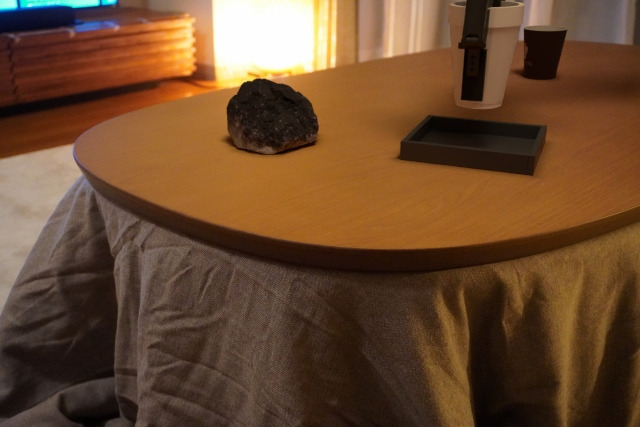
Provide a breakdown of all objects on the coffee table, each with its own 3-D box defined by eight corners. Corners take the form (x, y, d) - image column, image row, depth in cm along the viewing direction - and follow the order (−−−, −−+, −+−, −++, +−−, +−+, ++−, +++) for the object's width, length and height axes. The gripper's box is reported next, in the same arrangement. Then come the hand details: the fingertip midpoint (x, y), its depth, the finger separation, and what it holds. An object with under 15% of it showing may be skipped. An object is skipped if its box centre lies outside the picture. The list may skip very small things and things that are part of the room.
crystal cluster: (331, 153, 90) (333, 84, 87) (239, 157, 86) (239, 84, 83) (302, 136, 102) (303, 74, 99) (220, 138, 98) (219, 74, 95)
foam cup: (494, 93, 90) (503, -1, 85) (526, 108, 82) (538, 5, 77) (432, 97, 89) (438, 2, 83) (459, 114, 80) (467, 9, 75)
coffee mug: (556, 82, 127) (563, 31, 123) (514, 78, 131) (519, 29, 127) (567, 71, 136) (573, 24, 132) (526, 68, 140) (532, 23, 136)
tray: (545, 142, 91) (547, 125, 90) (532, 175, 79) (535, 155, 78) (427, 130, 98) (428, 114, 96) (399, 159, 85) (400, 141, 84)
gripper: (481, -88, 86) (468, 74, 95) (442, -93, 68) (431, 108, 77) (537, -90, 83) (519, 77, 92) (513, -95, 65) (493, 114, 74)
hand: (479, 91), depth 85 cm, fingers closed on foam cup, 9 cm apart
